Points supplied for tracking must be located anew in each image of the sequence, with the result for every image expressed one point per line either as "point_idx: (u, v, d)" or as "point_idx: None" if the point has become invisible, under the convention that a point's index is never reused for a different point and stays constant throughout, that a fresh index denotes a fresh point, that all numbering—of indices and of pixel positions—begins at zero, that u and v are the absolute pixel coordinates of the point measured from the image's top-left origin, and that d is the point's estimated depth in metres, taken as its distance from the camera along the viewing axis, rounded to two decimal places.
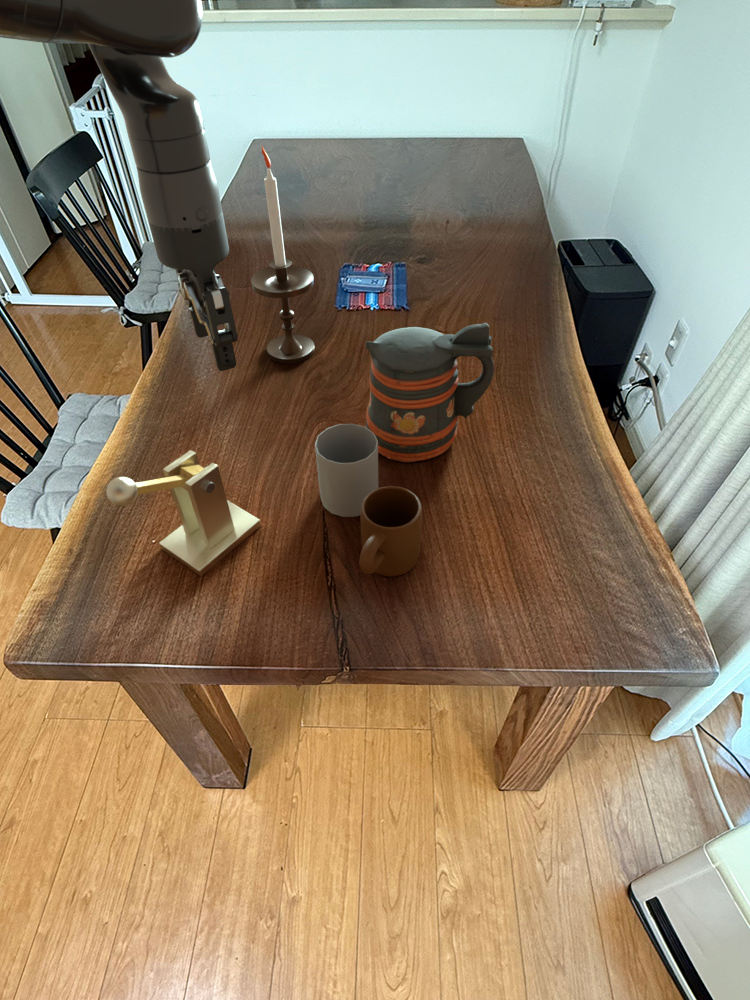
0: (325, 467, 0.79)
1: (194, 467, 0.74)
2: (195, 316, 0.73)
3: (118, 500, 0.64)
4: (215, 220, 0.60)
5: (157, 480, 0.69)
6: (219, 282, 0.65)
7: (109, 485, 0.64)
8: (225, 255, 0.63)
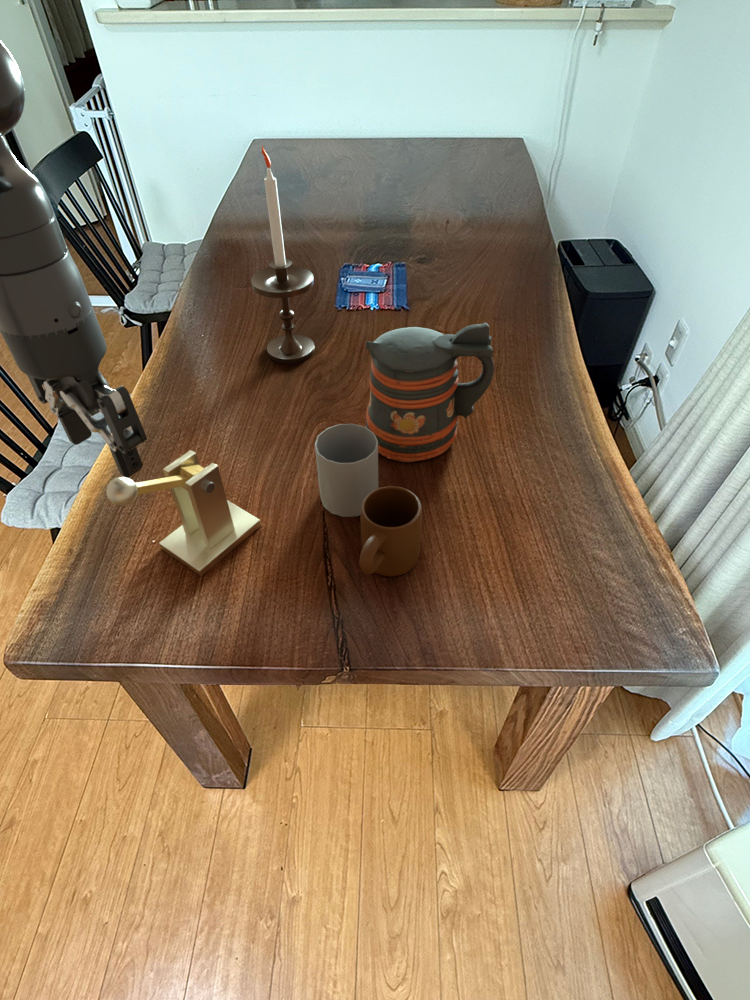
0: (325, 467, 0.79)
1: (194, 467, 0.74)
2: (67, 422, 0.61)
3: (118, 500, 0.64)
4: (89, 313, 0.50)
5: (157, 480, 0.69)
6: None
7: (109, 485, 0.64)
8: (105, 349, 0.53)
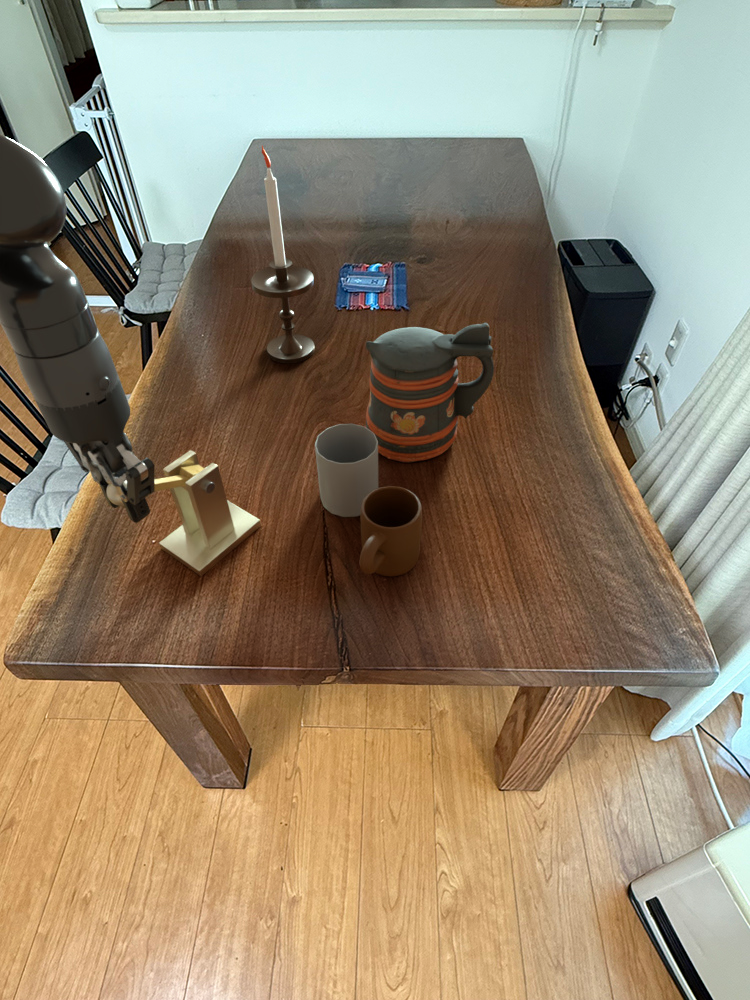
0: (325, 467, 0.79)
1: (194, 467, 0.74)
2: None
3: (118, 500, 0.64)
4: (116, 383, 0.55)
5: (157, 480, 0.69)
6: None
7: (109, 485, 0.64)
8: (129, 412, 0.58)
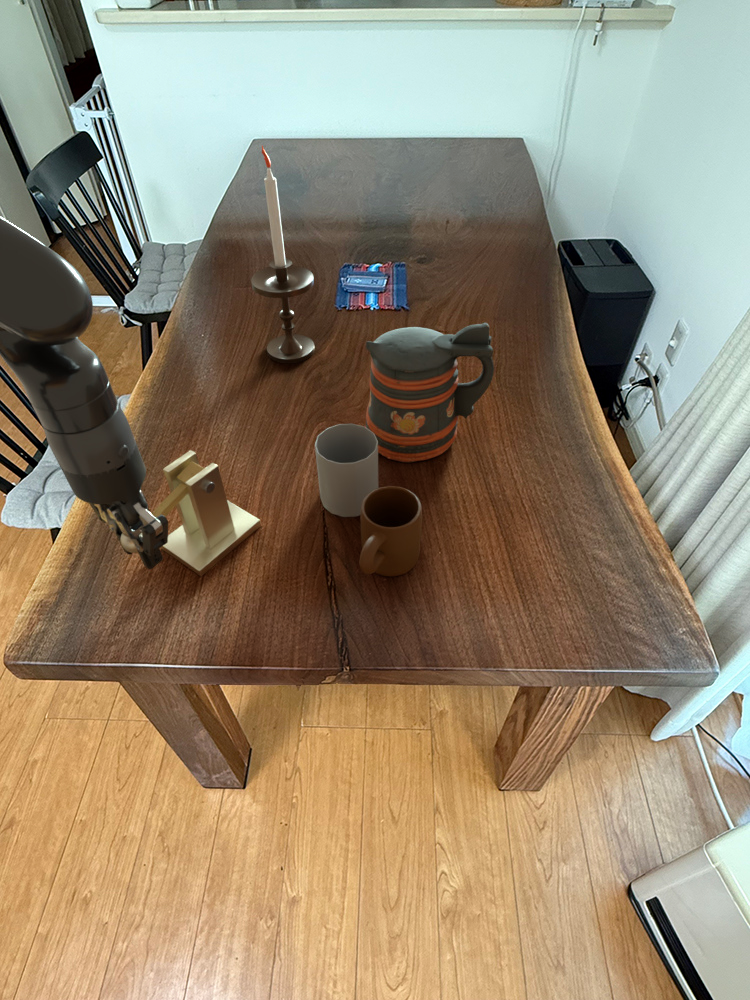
0: (325, 467, 0.79)
1: (188, 469, 0.73)
2: None
3: (135, 552, 0.69)
4: (133, 450, 0.60)
5: (160, 507, 0.71)
6: None
7: (121, 542, 0.69)
8: (145, 473, 0.63)
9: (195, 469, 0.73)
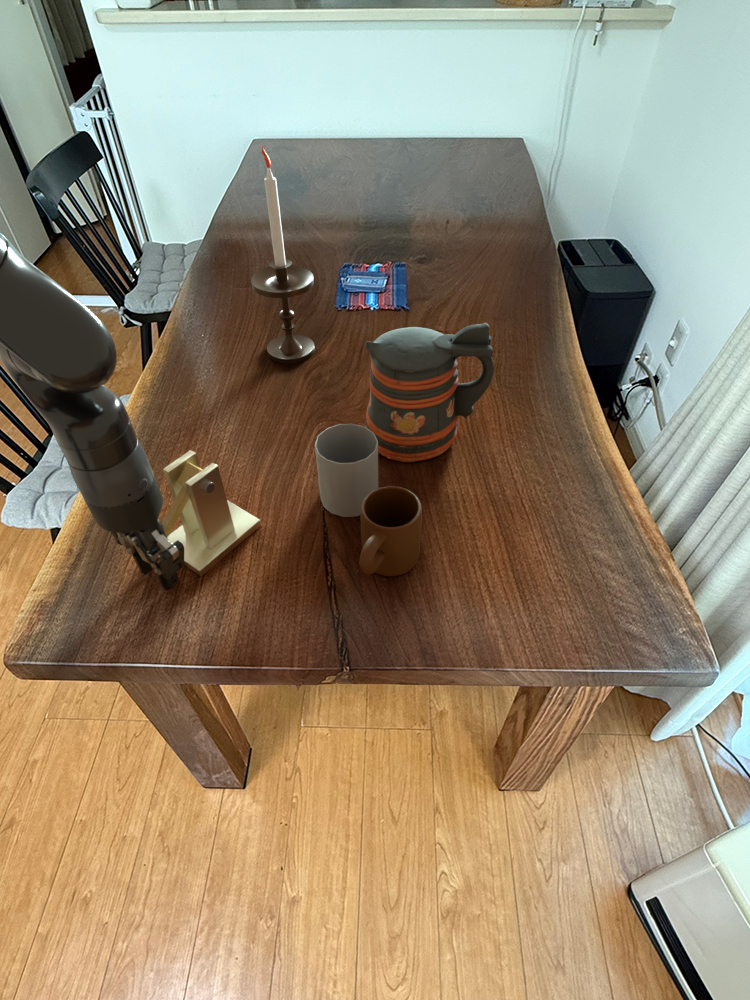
0: (325, 467, 0.79)
1: (186, 471, 0.73)
2: (140, 559, 0.75)
3: None
4: (152, 481, 0.64)
5: (168, 514, 0.73)
6: None
7: None
8: (162, 502, 0.67)
9: (192, 471, 0.72)
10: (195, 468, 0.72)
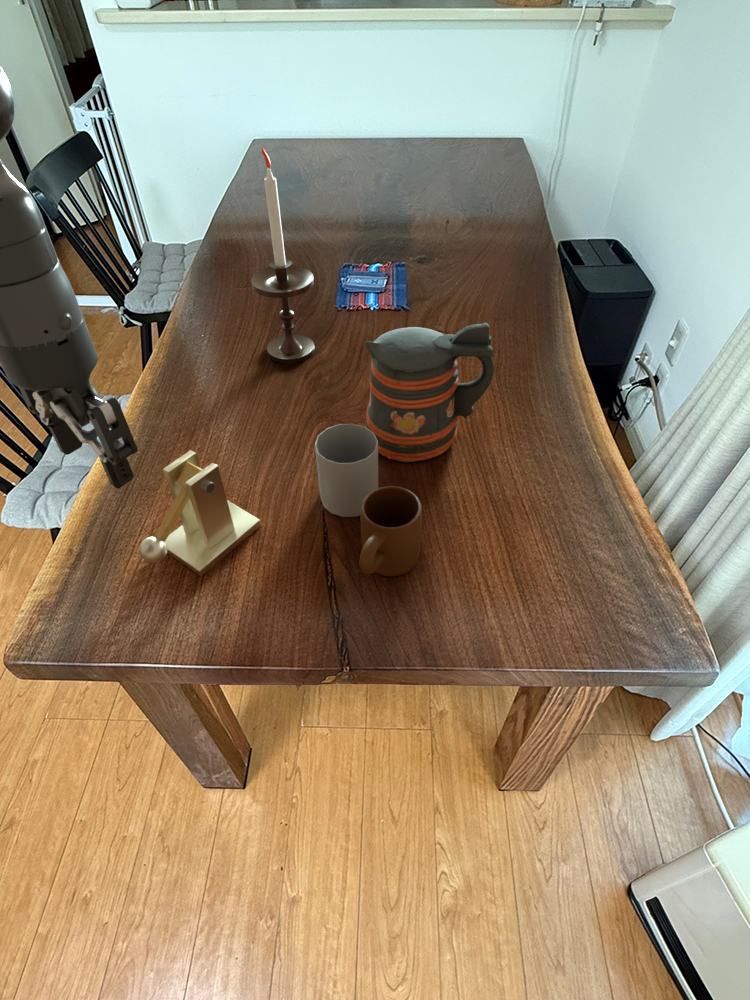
0: (325, 467, 0.79)
1: (186, 471, 0.73)
2: (58, 432, 0.60)
3: (156, 561, 0.73)
4: (80, 324, 0.50)
5: (168, 514, 0.73)
6: None
7: (141, 555, 0.73)
8: (96, 359, 0.53)
9: (192, 471, 0.72)
10: (195, 468, 0.72)
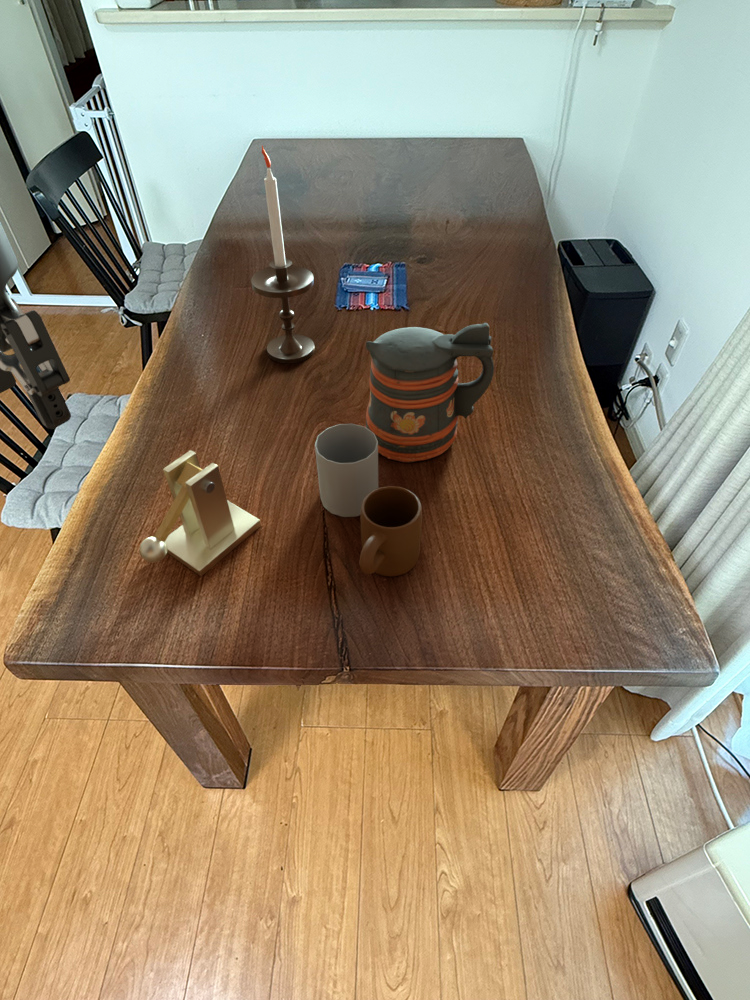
0: (325, 467, 0.79)
1: (186, 471, 0.73)
2: None
3: (156, 561, 0.73)
4: None
5: (168, 514, 0.73)
6: None
7: (141, 555, 0.73)
8: (15, 267, 0.44)
9: (192, 471, 0.72)
10: (195, 468, 0.72)
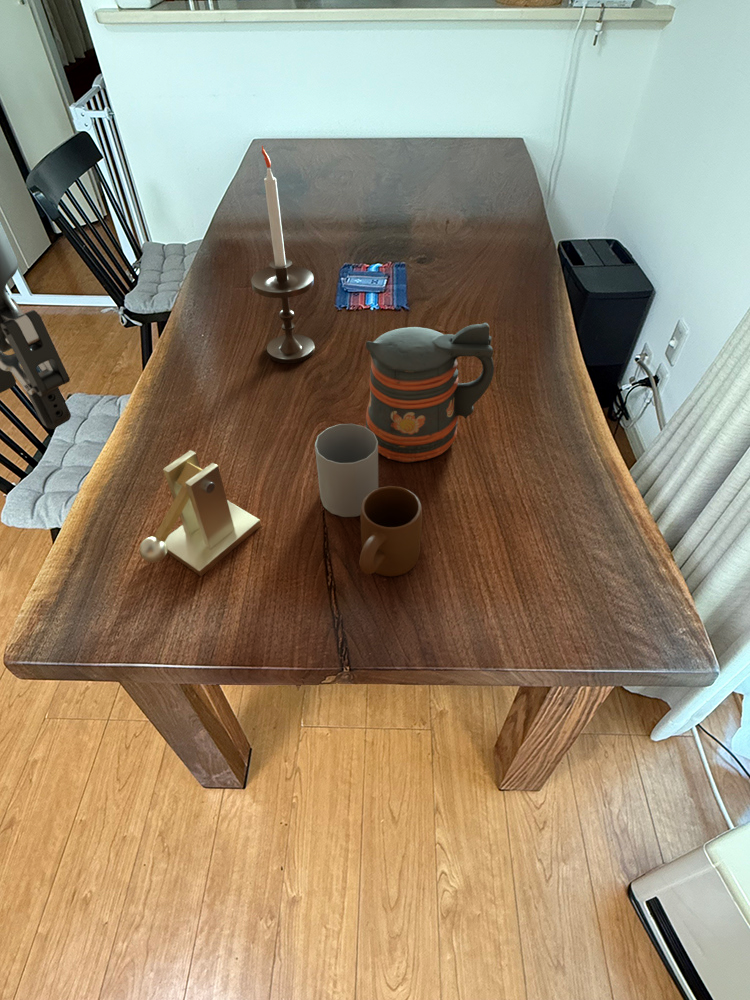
0: (325, 467, 0.79)
1: (186, 471, 0.73)
2: None
3: (156, 561, 0.73)
4: None
5: (168, 514, 0.73)
6: None
7: (141, 555, 0.73)
8: (15, 267, 0.44)
9: (192, 471, 0.72)
10: (195, 468, 0.72)
